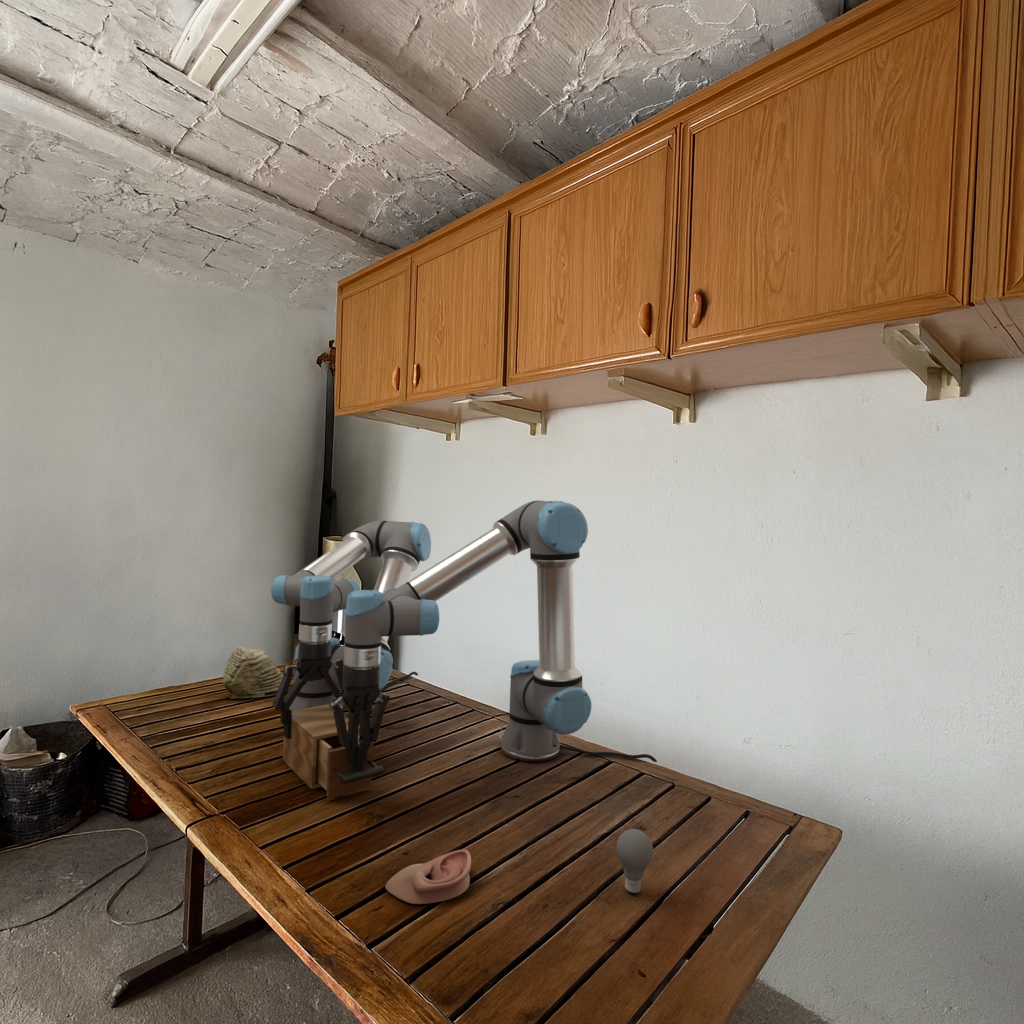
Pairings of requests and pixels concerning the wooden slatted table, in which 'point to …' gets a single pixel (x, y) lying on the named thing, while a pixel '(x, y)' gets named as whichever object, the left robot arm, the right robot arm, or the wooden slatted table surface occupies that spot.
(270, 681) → the fossil
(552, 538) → the right robot arm
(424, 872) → the anatomical model
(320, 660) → the left robot arm
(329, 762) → the drawer
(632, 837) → the light bulb
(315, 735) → the cabinet
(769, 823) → the wooden slatted table surface
